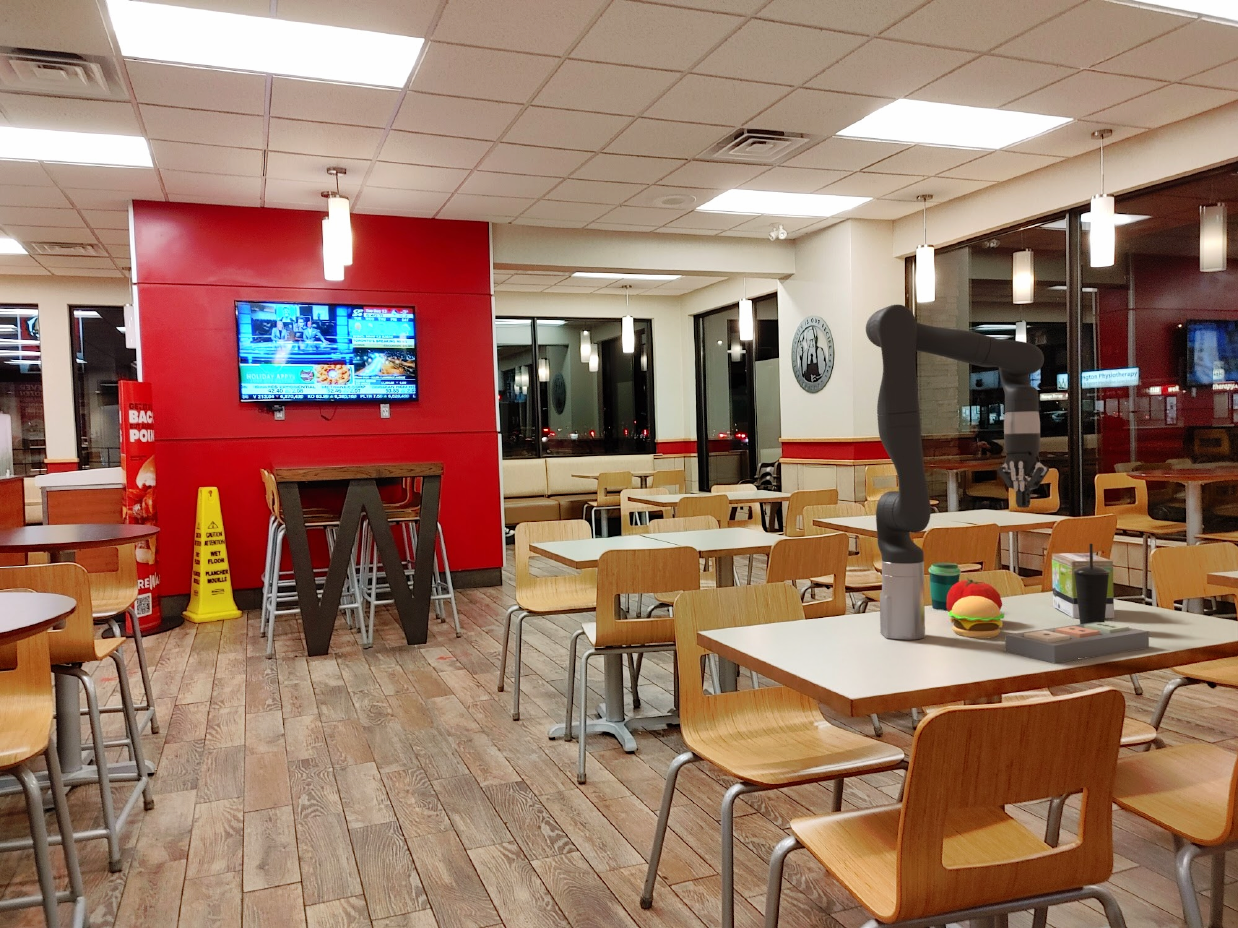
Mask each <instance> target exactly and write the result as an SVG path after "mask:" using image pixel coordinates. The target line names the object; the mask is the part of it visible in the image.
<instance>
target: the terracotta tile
mask: <svg viewBox="0 0 1238 928" xmlns="http://www.w3.org/2000/svg"><path fill="white" fill-rule="evenodd" d="M1071 626H1072V625H1071ZM1055 633H1059V634H1064V635H1069V636H1074V637H1079V638H1082V637H1089V636H1096V635H1100V631H1097V630H1092V629H1087V628H1081V627H1076V626H1072V627H1065V628H1058V629H1055Z"/></svg>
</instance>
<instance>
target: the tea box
mask: <svg viewBox="0 0 1238 928" xmlns="http://www.w3.org/2000/svg"><path fill="white" fill-rule="evenodd" d="M1113 561H1114V560H1111V559H1108V558H1106V557H1102V556H1099V555H1096V554H1094V553H1093V566H1098V567H1101V568H1104V569H1106V570H1108V571H1110V574H1109V578H1108V590H1107V601H1106V612H1105V619H1114V618H1115V603H1114V602H1115V600H1114V599H1115V597H1114V596H1115V595H1114V594H1115V593H1114V563H1113ZM1088 565H1090V552H1087V553H1086V552H1084V553H1083V552H1080V553H1079V552H1071V553H1069V552H1068V553H1051V574H1052V575H1051V577H1052V607H1053V608H1055V609H1057V610H1059V611H1060V612H1062V613H1063V614H1066V615H1067V616H1069V617H1070V616H1071V618H1072V619H1080V618H1079V609H1078V600H1077V592H1076V583H1075V574H1074V573H1073V570H1074V569H1077V568H1079V567H1082V566H1088Z"/></svg>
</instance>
